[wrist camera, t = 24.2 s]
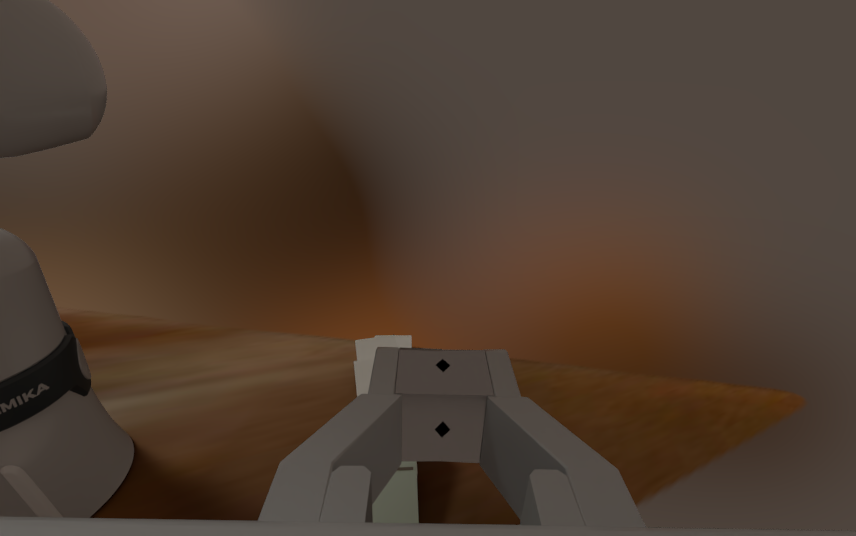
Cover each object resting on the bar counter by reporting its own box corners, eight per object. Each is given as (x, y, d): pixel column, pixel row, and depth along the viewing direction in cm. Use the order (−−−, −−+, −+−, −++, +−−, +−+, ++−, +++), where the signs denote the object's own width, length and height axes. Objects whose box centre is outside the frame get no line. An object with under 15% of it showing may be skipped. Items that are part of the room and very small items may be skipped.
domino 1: (410, 427, 43) (396, 354, 49) (361, 436, 42) (353, 361, 48) (410, 434, 44) (396, 362, 50) (361, 443, 43) (354, 368, 49)
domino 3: (418, 525, 34) (414, 419, 40) (356, 528, 33) (362, 421, 40) (418, 531, 35) (414, 427, 41) (357, 534, 34) (362, 428, 41)
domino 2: (407, 396, 47) (394, 334, 53) (362, 404, 46) (355, 340, 52) (407, 403, 48) (394, 341, 54) (363, 411, 47) (355, 347, 53)
